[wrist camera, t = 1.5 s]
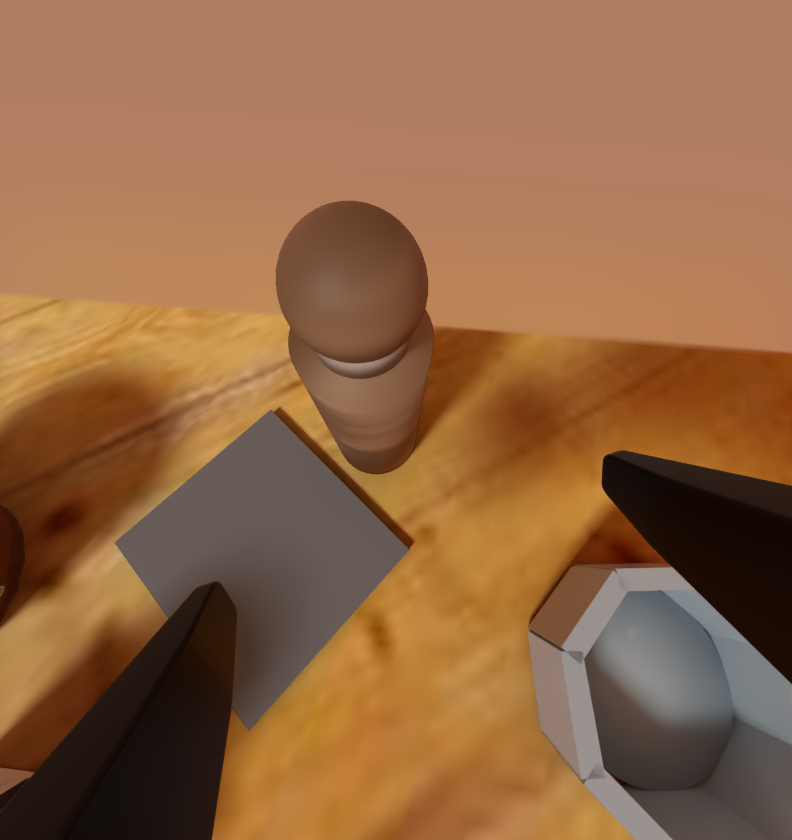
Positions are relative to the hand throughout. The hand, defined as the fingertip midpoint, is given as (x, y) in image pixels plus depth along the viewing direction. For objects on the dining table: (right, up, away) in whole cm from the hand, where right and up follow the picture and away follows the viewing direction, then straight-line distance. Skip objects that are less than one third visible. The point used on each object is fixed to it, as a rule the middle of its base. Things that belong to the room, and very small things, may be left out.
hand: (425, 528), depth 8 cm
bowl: (+11, -10, +10) cm, 18 cm away
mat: (-8, -5, +12) cm, 15 cm away
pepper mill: (-2, +1, +14) cm, 14 cm away
